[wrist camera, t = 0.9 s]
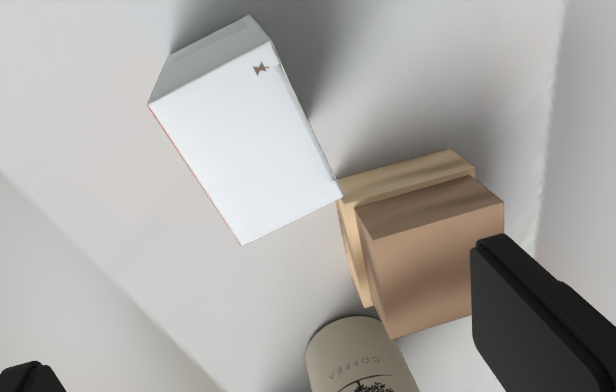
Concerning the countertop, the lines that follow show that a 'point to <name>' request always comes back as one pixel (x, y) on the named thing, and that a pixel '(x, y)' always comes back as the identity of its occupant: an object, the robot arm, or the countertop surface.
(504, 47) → the countertop surface
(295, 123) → the small box
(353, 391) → the travel mug
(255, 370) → the countertop surface
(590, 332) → the robot arm
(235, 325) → the countertop surface
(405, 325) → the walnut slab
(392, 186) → the oak slab
